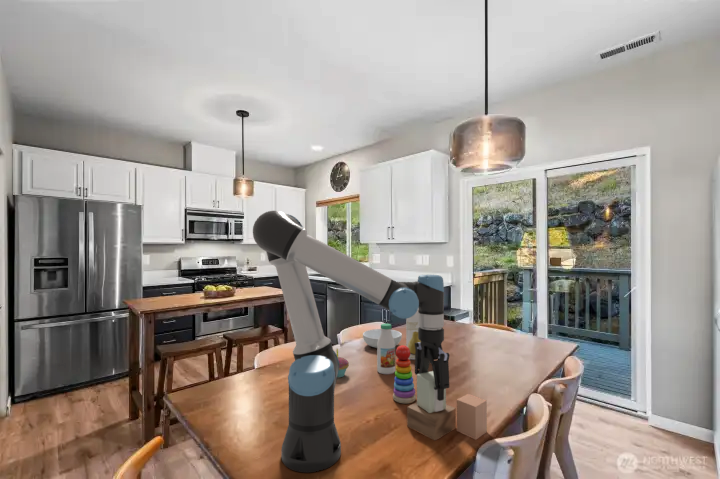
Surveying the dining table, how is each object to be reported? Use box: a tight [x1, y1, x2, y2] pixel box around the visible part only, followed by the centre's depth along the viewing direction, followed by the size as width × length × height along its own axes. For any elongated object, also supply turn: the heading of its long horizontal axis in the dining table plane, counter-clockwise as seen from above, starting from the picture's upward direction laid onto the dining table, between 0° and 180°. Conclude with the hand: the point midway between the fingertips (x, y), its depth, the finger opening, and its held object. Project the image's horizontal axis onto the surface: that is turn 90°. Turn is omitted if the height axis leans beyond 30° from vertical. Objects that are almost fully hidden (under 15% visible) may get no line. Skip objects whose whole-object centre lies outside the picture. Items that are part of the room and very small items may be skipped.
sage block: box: [416, 370, 447, 413], centre depth 102 cm, size 6×6×9 cm
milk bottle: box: [376, 323, 396, 375], centre depth 147 cm, size 8×8×20 cm
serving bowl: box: [362, 328, 403, 349], centre depth 184 cm, size 21×21×7 cm
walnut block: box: [406, 402, 457, 441], centre depth 102 cm, size 10×10×6 cm
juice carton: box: [405, 310, 421, 361], centre depth 165 cm, size 9×8×24 cm
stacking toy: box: [392, 344, 417, 404], centre depth 120 cm, size 8×8×19 cm
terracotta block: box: [456, 393, 488, 440], centre depth 99 cm, size 6×6×9 cm
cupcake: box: [336, 348, 350, 378], centre depth 143 cm, size 9×8×12 cm
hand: (431, 405), depth 102 cm, fingers closed on sage block, 6 cm apart
